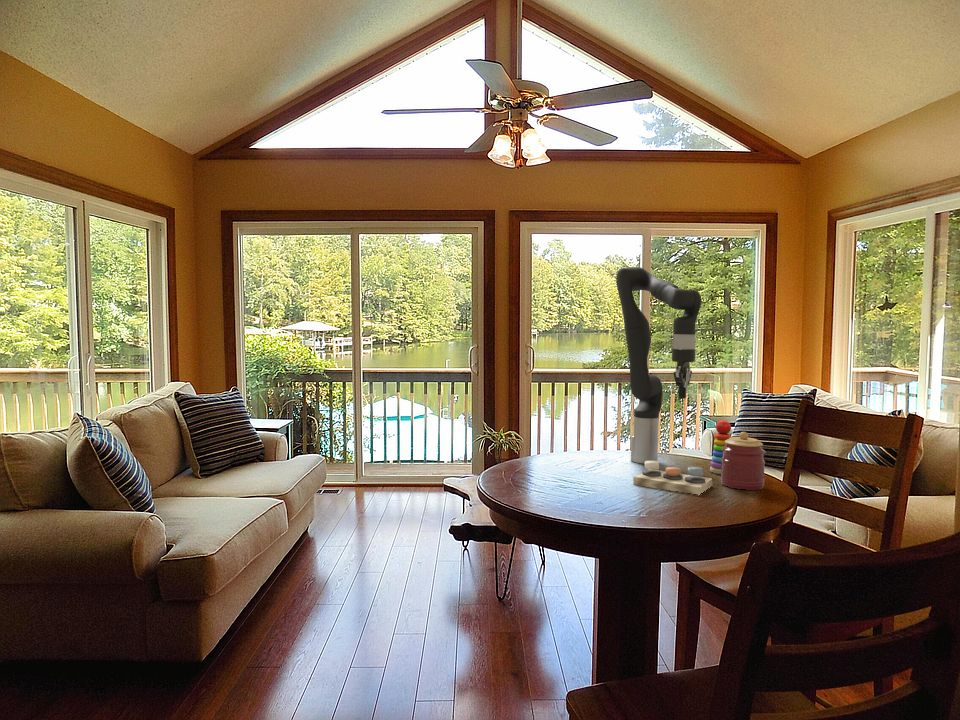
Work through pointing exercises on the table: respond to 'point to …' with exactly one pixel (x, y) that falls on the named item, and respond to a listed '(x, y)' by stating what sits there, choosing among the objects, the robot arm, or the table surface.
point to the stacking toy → (719, 445)
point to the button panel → (672, 482)
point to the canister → (743, 463)
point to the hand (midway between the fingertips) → (682, 398)
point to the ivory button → (652, 465)
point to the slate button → (695, 471)
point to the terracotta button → (673, 471)
